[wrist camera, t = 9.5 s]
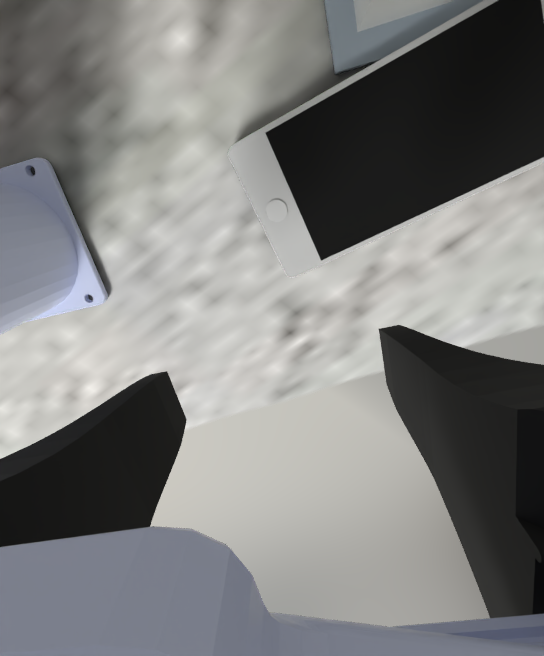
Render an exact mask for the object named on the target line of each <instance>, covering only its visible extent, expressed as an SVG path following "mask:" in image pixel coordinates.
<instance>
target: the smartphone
mask: <svg viewBox="0 0 544 656" xmlns="http://www.w3.org/2000/svg"><path fill="white" fill-rule="evenodd" d="M228 157H229V159H230V162H231V164H232V166H233V168H234V170H235V172H236V174H237V176H238V178H239V180H240V182H241V184H242V186H243V188H244V190H245V192H246V194H247V196H248V198H249V200H250V203H251V205H252V207H253V209H254V211H255V213H256V215H257V217H258V219H259V221H260V223H261V225H262V227H263V229H264V231H265V233H266V235H267V237H268V239H269V242H270V244H271V246H272V248H273V250H274V252H275V254H276V256H277V258H278V260H279V262H280V264H281V266H282V268H283V270H284V272H285V274H286V276H287V277H291V278H292V277H297V276H300V275H302V274H304V273H306V272H308V271H311V270H313V269H315V268H317V267H319V266H321V265H324V264H326V263H328V262H330V261H332V260H334V259H337V258H339V257H341V256H343V255H345V254H347V253H350V252H352V251H354V250H356V249H358V248H360V247H363V246H365V245H367V244H369V243H371V242H373V241H376V240H378V239H380V238H382V237H384V236H386V235H389V234H391V233H393V232H395V231H397V230H399V229H402V228H404V227H406V226H408V225H410V224H412V223H415V222H417V221H419V220H421V219H423V218H425V217H428V216H430V215H432V214H434V213H436V212H438V211H441V210H443V209H445V208H447V207H449V206H451V205H454V204H456V203H458V202H460V201H462V200H464V199H466V198H469V197H471V196H473V195H475V194H477V193H479V192H482V191H484V190H486V189H488V188H490V187H492V186H495V185H497V184H499V183H501V182H503V181H505V180H508V179H510V178H512V177H514V176H516V175H518V174H521V173H523V172H525V171H527V170H529V169H531V168H534V167H536V166H538V165H540V164H542V163H544V0H484V1H482V2H480V3H478V4H477V5H475V6H473V7H471V8H470V9H468V10H466V11H464V12H463V13H461V14H459V15H457V16H456V17H454V18H452V19H450V20H449V21H447V22H445V23H443V24H442V25H440V26H438V27H436V28H435V29H433V30H431V31H430V32H428V33H426V34H424V35H423V36H421V37H419V38H417V39H416V40H414V41H412V42H410V43H409V44H407V45H405V46H403V47H402V48H400V49H398V50H396V51H395V52H393V53H391V54H389V55H388V56H386V57H384V58H382V59H381V60H379V61H377V62H375V63H374V64H372V65H370V66H368V67H367V68H365V69H363V70H362V71H360V72H358V73H356V74H355V75H353V76H351V77H349V78H348V79H346V80H344V81H342V82H341V83H339V84H337V85H335V86H334V87H332V88H330V89H328V90H327V91H325V92H323V93H321V94H320V95H318V96H316V97H314V98H313V99H311V100H309V101H307V102H306V103H304V104H302V105H300V106H299V107H297V108H295V109H294V110H292V111H290V112H288V113H287V114H285V115H283V116H281V117H280V118H278V119H276V120H274V121H273V122H271V123H269V124H267V125H266V126H264V127H262V128H260V129H259V130H257V131H255V132H253V133H252V134H250V135H248V136H246V137H245V138H243V139H241V140H239V141H238V142H236V143H235V144H233V145H232V146H231V148H230V149H229V151H228Z"/></svg>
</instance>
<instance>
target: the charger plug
mask: <svg viewBox="0 0 544 656" xmlns="http://www.w3.org/2000/svg"><path fill="white" fill-rule="evenodd" d="M353 1H354V9H355V16H356V24H357V32H360V31H363V30H366V29H369V28H372V27H375V26H378V25H381V24H384V23H387V22H390V21H394V20H397V19H400V18H403V17H406V16H409V15H412V14H415V13H418V12H421V11H425V10H428V9H431V8H434V7H437V6H440V5H443V4H446V3H449V2H452V1H453V0H353Z"/></svg>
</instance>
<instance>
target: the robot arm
mask: <svg viewBox="0 0 544 656" xmlns="http://www.w3.org/2000/svg"><path fill="white" fill-rule="evenodd" d="M31 167H34V169H35V172H36V173H35V175H33V174H32V173H31ZM88 294H89V295H91V296H92V297H93V301H92V300H90V299H89V298H88ZM107 299H108V295H107V292H106V289H105V287H104V285H103V282H102V280H101V278H100V276H99V273H98V271H97V269H96V266H95V264H94V262H93V259H92V257H91V255H90V252H89V250H88V248H87V246H86V243H85V241H84V239H83V236H82V234H81V232H80V229H79V227H78V225H77V223H76V220H75V218H74V216H73V213H72V211H71V209H70V206H69V204H68V202H67V199H66V197H65V195H64V193H63V190H62V188H61V186H60V183H59V181H58V179H57V176H56V174H55V172H54V170H53V167H52V165H51V164H50V162H49V161H47V160H46V159H44V158H33V159H29V160H26V161H23V162H20V163H16V164H13V165H10V166H7V167H3V168H0V335H1V334H3V333H5V332H7V331H9V330H11V329H13V328H15V327H17V326H19V325H20V324H22V323H24V322H28V321H32V320H36V319H41V318H45V317H49V316H53V315H58V314H62V313H66V312H70V311H75V310H79V309H83V308H88V307H92V306H96V305H100V304H102V303H104V302H106V300H107ZM379 333H380V340H381V347H382V354H383V361H384V368H385V375H386V382H387V386H388V389H389V392H390V394H391V397H392V399H393V402H394V405H395V407H396V409H397V411H398V413H399V415H400V417H401V419H402V421H403V422H404V424H405V426H406V428H407V429H408V431H409V433H410V435H411V437H412V439H413V440H414V442H415V444H416V446H417V447H418V449H419V451H420V453H421V455H422V456H423V458H424V460H425V462H426V464H427V465H428V467H429V469H430V471H431V473H432V475H433V477H434V479H435V482H436V484H437V486H438V489H439V491H440V493H441V496H442V498H443V500H444V503H445V505H446V507H447V510H448V512H449V514H450V517H451V519H452V522H453V524H454V527H455V529H456V531H457V534H458V537H459V539H460V541H461V544H462V546H463V548H464V551H465V554H466V556H467V559H468V561H469V564H470V566H471V569H472V571H473V574H474V577H475V579H476V582H477V584H478V587H479V589H480V592H481V594H482V597H483V599H484V602H485V605H486V608H487V610H488V613H489V616H490V618H489V619H476V620H465V621H453V622H441V623H429V624H417V625H406V626H393V627H387V626H378V625H370V624H362V623H355V622H346V621H338V620H329V619H321V618H314V617H306V616H298V615H290V614H282V613H272V612H268V610H267V609H266V607H265V605H264V603H263V601H262V598H261V596H260V593H259V591H258V588H257V586H256V583H255V581H254V578H253V576H252V574H251V573H250V572H249V571H248V569H247V568H246V567H245V566H244V565H243V563H242V562H241V561H240V560H239V559H238V557H237V556H236V555H235V554H234V553H233V552H232V550H231V549H230V548H229V547H228V546H227V545H226V544H224V543H222V542H219V541H217V540H215V539H213V538H211V537H209V536H206V535H204V534H202V533H200V532H198V531H195V530H193V529H187V528H186V529H185V528H170V527H154V526H153V527H150V525H151V521H152V518H153V515H154V512H155V509H156V507H157V504H158V502H159V499H160V497H161V494H162V491H163V489H164V486H165V484H166V481H167V479H168V477H169V474H170V472H171V469H172V466H173V464H174V462H175V459H176V457H177V454H178V451H179V448H180V446H181V442H182V438H183V434H184V429H185V425H186V417H185V415H184V412H183V410H182V407H181V405H180V402H179V400H178V397H177V395H176V393H175V390H174V388H173V385H172V383H171V380H170V378H169V375H168V373H167V371H166V372H161V373H156V374H151V375H149V376H146V377H144V378H142V379H140V380H139V381H137V382H135V383H134V384H132V385H130V386H129V387H127V388H126V389H124V390H123V391H121V392H119V393H118V394H116V395H115V396H113V397H112V398H110V399H109V400H107V401H106V402H104V403H103V404H101V405H100V406H98V407H96V408H95V409H93V410H92V411H90V412H88V413H87V414H85V415H84V416H82V417H80V418H79V419H77V420H75V421H74V422H72V423H71V424H69V425H67V426H65V427H64V428H62V429H60V430H58V431H57V432H55V433H53V434H51V435H49V436H47V437H45V438H44V439H42V440H40V441H38V442H36V443H34V444H32V445H30V446H28V447H26V448H24V449H21V450H19V451H17V452H15V453H13V454H11V455H8V456H6V457H4V458H2V459H0V656H544V365H541V364H534V363H526V362H520V361H515V360H509V359H504V358H500V357H495V356H490V355H486V354H482V353H478V352H475V351H471V350H468V349H465V348H461V347H458V346H455V345H452V344H449V343H446V342H443V341H441V340H438V339H435V338H432V337H430V336H427V335H425V334H422V333H420V332H417V331H415V330H412V329H410V328H407V327H404V326H401V325H397V326H392V327H387V328H382V329H379Z"/></svg>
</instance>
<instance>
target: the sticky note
mask: <svg viewBox="0 0 544 656" xmlns="http://www.w3.org/2000/svg"><path fill="white" fill-rule="evenodd" d="M482 1H483V0H453V1H452V2H449V3H446V4H443V5H440V6H437V7H434V8H431V9H428V10H425V11H421V12H418V13H415V14H412V15H409V16H406V17H403V18H400V19H397V20H394V21H390V22H387V23H384V24H381V25H378V26H375V27H372V28H369V29H366V30H363V31H360V32H357V24H356V16H355V9H354V1H353V0H324V5H325V11H326V18H327V25H328V32H329V38H330V45H331V52H332V58H333V65H334V72H335V74H339V73H342V72H345V71H349V70H352V69H355V68H359V67H362V66H365V65H368V64H372V63H375V62H377V61H379V60H381V59H382V58H384V57H386V56H388V55H389V54H391V53H393V52H395V51H396V50H398V49H400V48H402V47H403V46H405V45H407V44H409V43H410V42H412V41H414V40H416V39H417V38H419V37H421V36H423V35H424V34H426V33H428V32H430V31H431V30H433V29H435V28H436V27H438V26H440V25H442V24H443V23H445V22H447V21H449V20H450V19H452V18H454V17H456V16H457V15H459V14H461V13H463V12H464V11H466V10H468V9H470V8H471V7H473V6H475V5H477V4H478V3H480V2H482Z"/></svg>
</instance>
